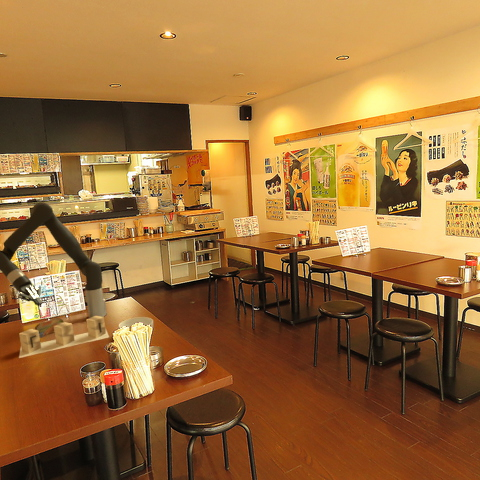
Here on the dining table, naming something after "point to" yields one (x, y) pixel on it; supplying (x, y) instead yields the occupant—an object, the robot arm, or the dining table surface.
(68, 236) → the robot arm
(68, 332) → the plain block
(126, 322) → the cereal bowl
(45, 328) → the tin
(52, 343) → the board
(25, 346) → the marked block 7
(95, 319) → the marked block 1
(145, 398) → the dining table surface
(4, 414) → the dining table surface
